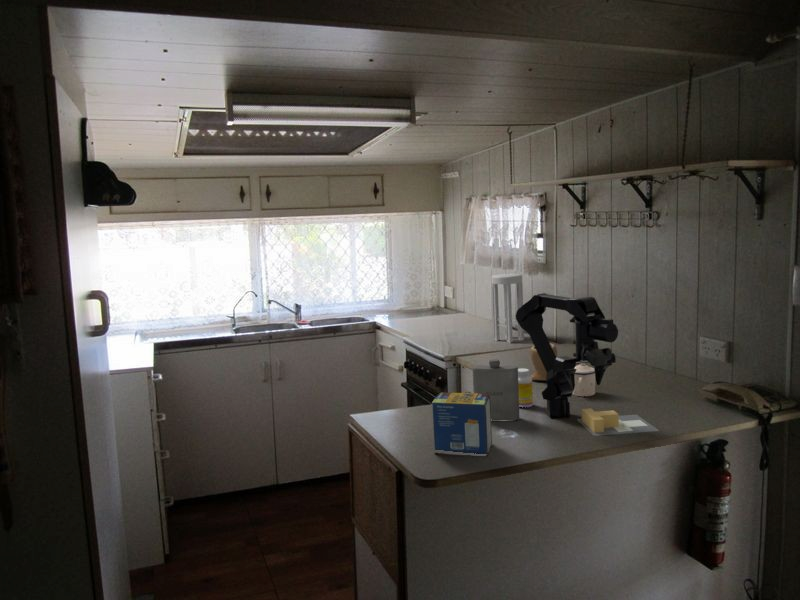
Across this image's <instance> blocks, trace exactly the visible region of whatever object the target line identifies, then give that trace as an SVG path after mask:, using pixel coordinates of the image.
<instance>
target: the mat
mask: <svg viewBox="0 0 800 600" xmlns="http://www.w3.org/2000/svg"><path fill="white" fill-rule="evenodd" d="M576 420H577V422H578V423H580V425H582V426H583V427H584V428H585V429H586V431H588V432H589V433H590V434H591V435H592V436H593V437H596V436H597V437H598V436H610V435H611V436H612V435H625V434H637V433H638V434H639V433H653V432H660V430H659V429H658V428H656V427H655V426H653V424H651V423H649V422H647V420H645V419H643V418H642V417H641V416H639V415H638V414H627V415H626V414H625V415H619V427H609V428H604V432H597V433H594V432H593V431H592V430H591V429H590V428H589V427H588V426H586V425H585V424H584V423H583V422H582V418H576Z"/></svg>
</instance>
